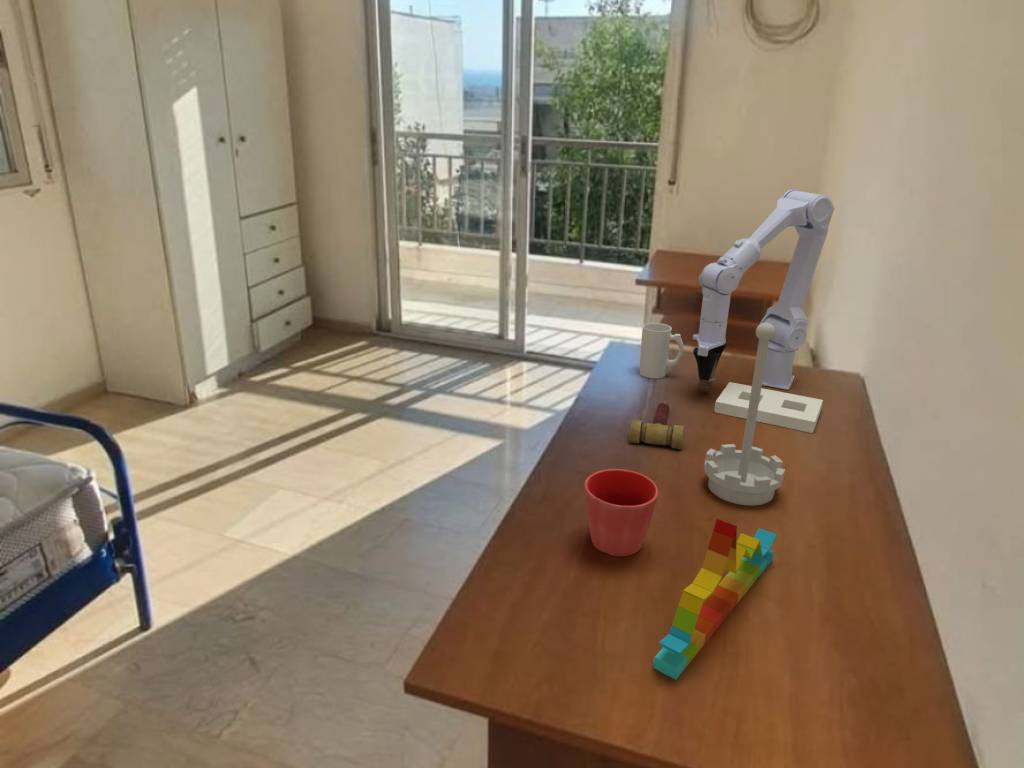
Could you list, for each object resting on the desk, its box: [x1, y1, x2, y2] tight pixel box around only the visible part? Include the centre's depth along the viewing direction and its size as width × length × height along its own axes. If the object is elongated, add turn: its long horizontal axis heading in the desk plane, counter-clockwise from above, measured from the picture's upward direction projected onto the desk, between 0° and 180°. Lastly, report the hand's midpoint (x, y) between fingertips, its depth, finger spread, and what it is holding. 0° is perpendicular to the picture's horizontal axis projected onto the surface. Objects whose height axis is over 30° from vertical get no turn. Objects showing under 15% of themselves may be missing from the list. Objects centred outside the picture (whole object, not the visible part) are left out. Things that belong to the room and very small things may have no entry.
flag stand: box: [703, 323, 786, 506], centre depth 120 cm, size 13×13×30 cm
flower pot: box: [583, 468, 659, 557], centre depth 108 cm, size 11×11×10 cm
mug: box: [639, 322, 685, 380], centre depth 172 cm, size 10×7×12 cm, turn 69°
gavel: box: [628, 401, 685, 450], centre depth 148 cm, size 21×5×10 cm
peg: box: [697, 360, 718, 392], centre depth 162 cm, size 4×4×8 cm
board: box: [713, 381, 824, 434], centre depth 156 cm, size 13×20×2 cm, turn 62°
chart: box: [652, 518, 777, 681], centre depth 93 cm, size 30×3×15 cm, turn 141°
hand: (706, 376), depth 163 cm, fingers closed on peg, 4 cm apart
